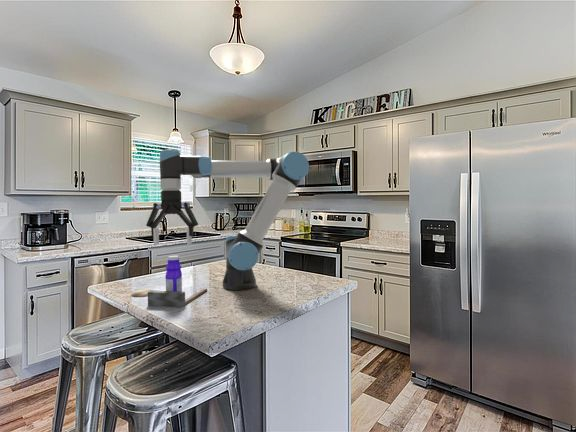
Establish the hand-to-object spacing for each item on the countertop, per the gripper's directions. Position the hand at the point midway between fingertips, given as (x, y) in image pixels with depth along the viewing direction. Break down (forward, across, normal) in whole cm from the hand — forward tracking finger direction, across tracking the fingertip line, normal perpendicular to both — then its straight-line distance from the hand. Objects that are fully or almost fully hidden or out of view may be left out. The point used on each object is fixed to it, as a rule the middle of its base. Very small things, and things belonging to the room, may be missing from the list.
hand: (172, 244), depth 130 cm
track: (+22, -1, -2) cm, 22 cm away
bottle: (+22, -1, +3) cm, 22 cm away
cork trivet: (+21, +16, -6) cm, 28 cm away
